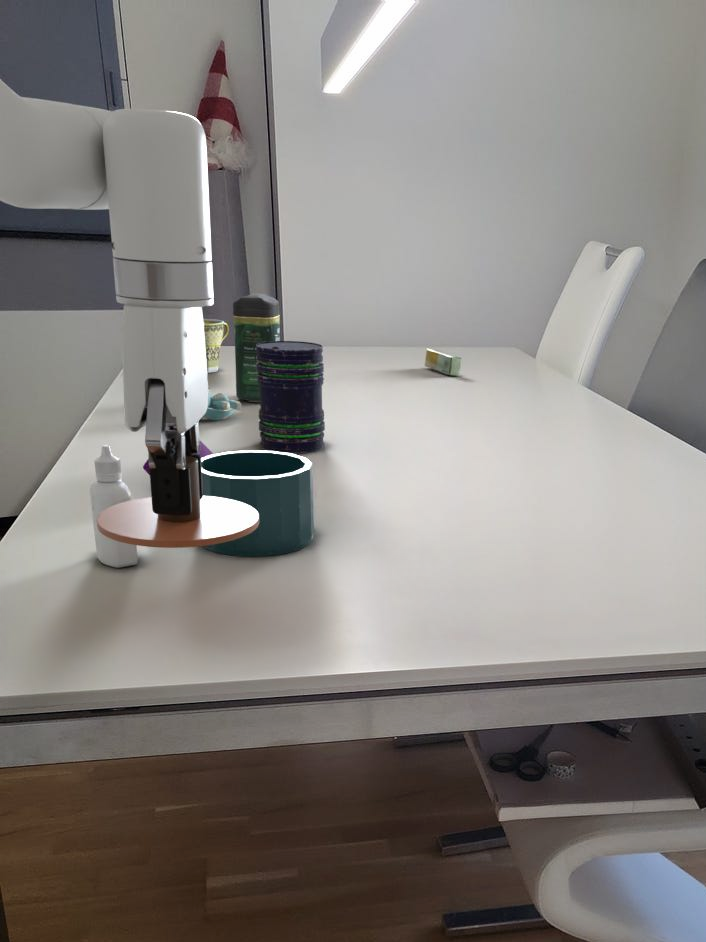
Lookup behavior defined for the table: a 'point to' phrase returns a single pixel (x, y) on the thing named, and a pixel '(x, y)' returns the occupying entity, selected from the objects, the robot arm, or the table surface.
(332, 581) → the table surface
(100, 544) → the eye dropper bottle
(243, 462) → the tin
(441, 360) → the medication box
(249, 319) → the coffee jar
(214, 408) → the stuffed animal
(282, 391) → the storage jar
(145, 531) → the tin lid
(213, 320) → the ceramic cup
